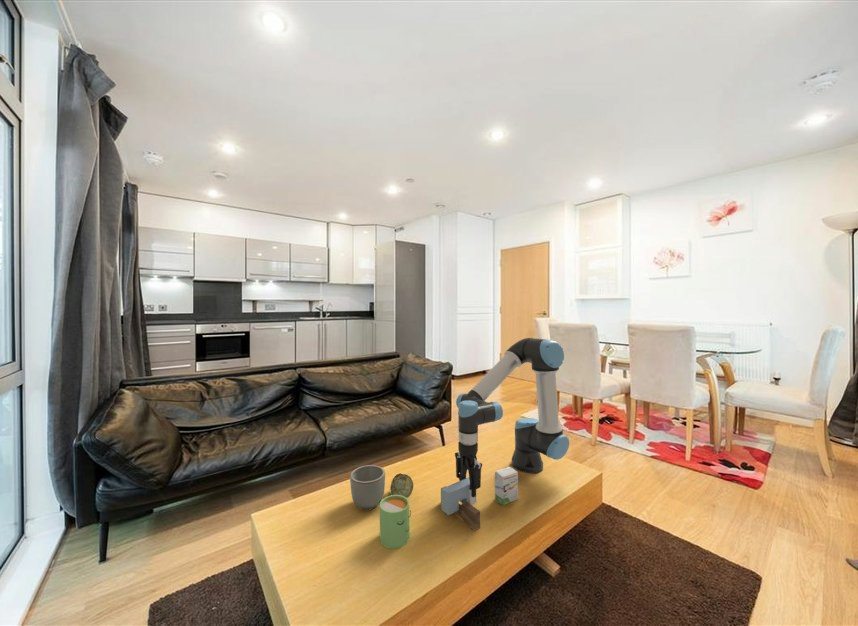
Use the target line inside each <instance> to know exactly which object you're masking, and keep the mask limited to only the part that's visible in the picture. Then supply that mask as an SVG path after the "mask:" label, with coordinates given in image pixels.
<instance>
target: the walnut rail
mask: <svg viewBox="0 0 858 626" xmlns="http://www.w3.org/2000/svg"><path fill="white" fill-rule="evenodd" d="M446 486H447V485H446ZM446 486H443V487H440V504H442V488H444V487H446ZM453 514H454V515H456V516H457V517H458V518H459V519H460V520H462V521H463V522H464V523H466V525H468V526H469V527H470V528H472V529H473V530H474V531H477V530H478V529H480V528H481V511H480V510H479V509H478V508H476V507H475V506H474V505H473V504H472V505H471V504H470V503H468V502H467V501H466V502H464V503H459V510H458V511H456V512H454V513H453Z"/></svg>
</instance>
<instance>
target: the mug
mask: <svg viewBox="0 0 858 626" xmlns="http://www.w3.org/2000/svg"><path fill="white" fill-rule="evenodd" d="M411 511H412V510H410V500H409V499H408V498H406V497H404V496H401V495H392V494H391V495H388V496H386V497H383V498H382V500H381V502H380V503H379V541H380V543H381V545H382V546H383V547H385V548H388V549H400V548H401V547H403V546H405V545H406V544H407V543H408V542H409V540H410V517H411V516H412V515H411V513H412V512H411Z"/></svg>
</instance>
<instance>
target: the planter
mask: <svg viewBox="0 0 858 626" xmlns="http://www.w3.org/2000/svg"><path fill="white" fill-rule="evenodd" d="M349 482H350V484H349V485H350V493H351V499H352V501H353V504H354V505H355V506H356V507H358V508H359V509H361V510H363V511H371V510H373V509H375V508H376V507H377V506H378V505H380V502H381V501H382V500H383V499H384V494H385V487H386V485H385V484H386V472H385V469H384V468H383V467H382V466H379V465H375V464H367V465H362V466H359V467H357V468H355V469H354V470H352V471H351V473H350V476H349Z"/></svg>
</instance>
